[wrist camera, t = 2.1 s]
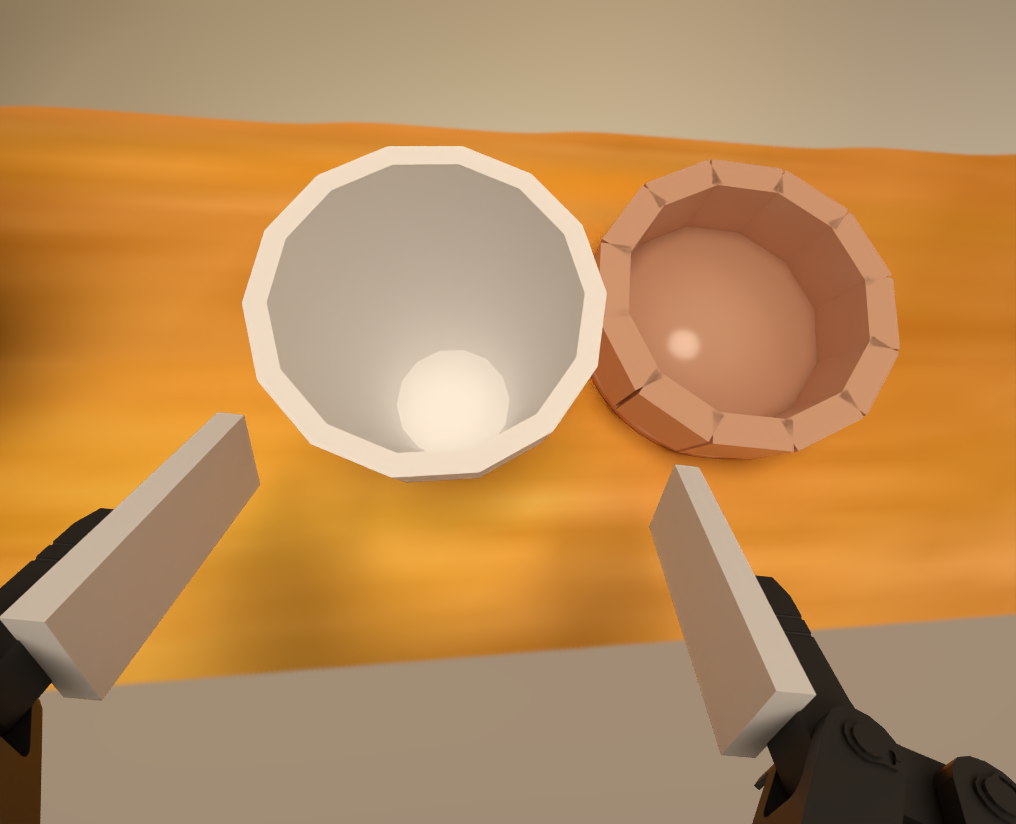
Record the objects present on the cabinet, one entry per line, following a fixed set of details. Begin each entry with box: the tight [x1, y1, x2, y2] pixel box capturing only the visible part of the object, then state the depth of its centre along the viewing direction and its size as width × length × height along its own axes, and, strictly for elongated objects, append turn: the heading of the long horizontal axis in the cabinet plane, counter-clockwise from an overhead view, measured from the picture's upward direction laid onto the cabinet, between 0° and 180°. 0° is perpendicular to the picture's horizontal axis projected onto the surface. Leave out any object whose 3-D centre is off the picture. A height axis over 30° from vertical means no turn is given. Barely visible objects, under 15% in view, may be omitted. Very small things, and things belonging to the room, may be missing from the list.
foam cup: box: [242, 146, 607, 482], centre depth 18 cm, size 10×9×13 cm
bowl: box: [591, 159, 900, 459], centre depth 24 cm, size 15×15×4 cm
